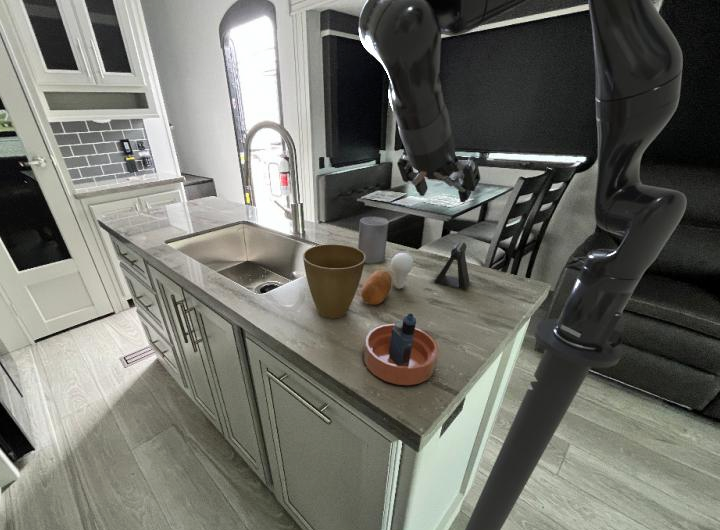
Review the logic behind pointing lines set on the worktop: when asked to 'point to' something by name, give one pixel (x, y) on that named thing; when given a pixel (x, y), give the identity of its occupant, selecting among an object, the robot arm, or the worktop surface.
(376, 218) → the pillar candle
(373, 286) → the potato
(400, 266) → the lightbulb
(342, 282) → the plant pot
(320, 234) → the worktop surface
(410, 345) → the vaping device
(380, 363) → the bowl
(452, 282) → the phone stand
